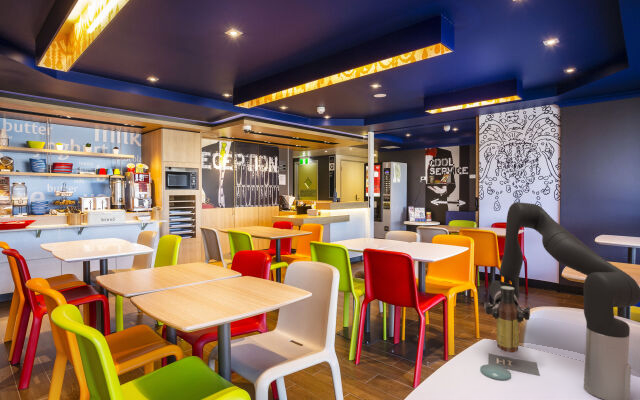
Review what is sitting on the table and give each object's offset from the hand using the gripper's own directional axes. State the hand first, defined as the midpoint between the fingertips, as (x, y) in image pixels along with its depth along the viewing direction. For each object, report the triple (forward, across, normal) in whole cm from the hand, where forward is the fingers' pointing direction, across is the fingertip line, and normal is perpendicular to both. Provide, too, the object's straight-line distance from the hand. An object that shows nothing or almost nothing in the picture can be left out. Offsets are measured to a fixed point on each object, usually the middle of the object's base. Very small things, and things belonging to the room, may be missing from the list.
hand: (507, 317), depth 113 cm
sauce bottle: (-2, 0, +11) cm, 11 cm away
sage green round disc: (+6, -3, +15) cm, 17 cm away
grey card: (-3, +2, +15) cm, 16 cm away
